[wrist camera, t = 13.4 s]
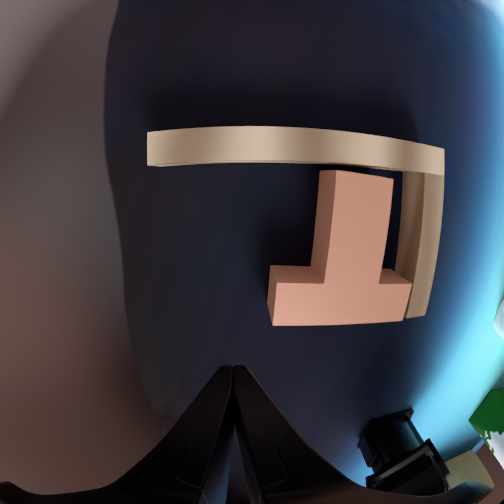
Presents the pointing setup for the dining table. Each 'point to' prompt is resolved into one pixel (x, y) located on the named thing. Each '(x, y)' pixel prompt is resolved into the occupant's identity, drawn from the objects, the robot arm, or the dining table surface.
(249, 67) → the dining table surface
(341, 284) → the t block
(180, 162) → the wooden l block
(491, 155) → the dining table surface
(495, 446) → the milk carton
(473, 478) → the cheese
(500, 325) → the foam cup
